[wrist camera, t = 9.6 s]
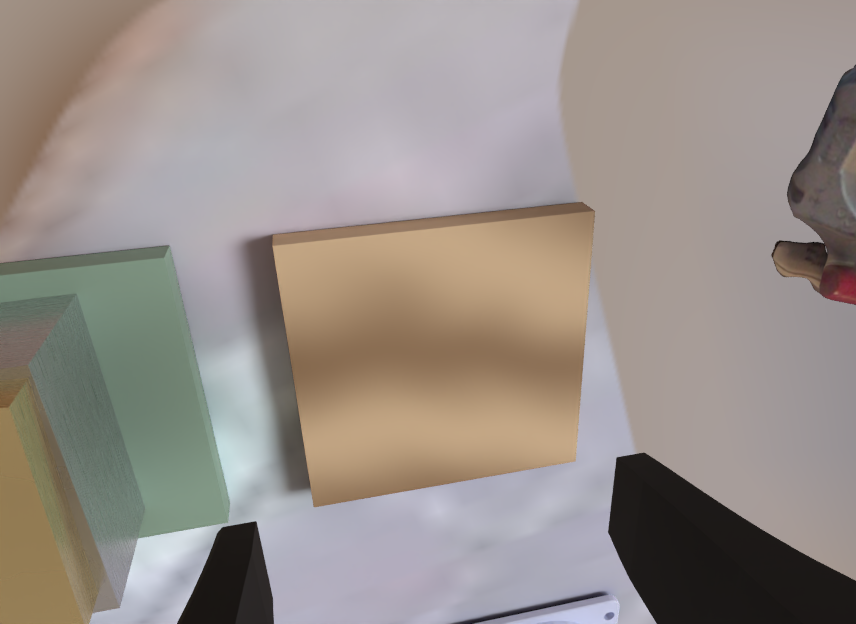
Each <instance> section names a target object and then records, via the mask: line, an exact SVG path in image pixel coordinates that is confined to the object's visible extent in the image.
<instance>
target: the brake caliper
mask: <svg viewBox="0 0 856 624" xmlns="http://www.w3.org/2000/svg"><path fill="white" fill-rule="evenodd" d="M787 197H788V202H789V205H790V207H791V210H792V212H793V215H794V217H796V218H798V219H800V220H801V221H803V222H804V223H806V224H807V225H808V226H810V227H811V228H812V229H813V230H814V231H816V233H817V234H818V235H819V236H820V237H821V239H822V240H823V242H824V243H820V242H808V243H802V242H792V241H781V240H779V241H777V242H776V244H775V247H774V250H773V252H772V254H771V256H772V258H773V261H774V264H775V266H776V270H777V271H778V272H779V273H780V274H781V275H782V276H783V277H802V278H807V279H808V280H809V281H810V282H811V284H812V286H813V288H814V290H816V291H817V292H819V293H820V294H821V295H822V296H823V297H825V298H827V299H830V300H834V301H839V302H844V303H849V304H854V305H856V65H855V66H854V68H853V69H850V70H848V71H847V72H845V73H844V75H843V76H842V78H841V79H840V81H839V83H838V85H837V88H836V90H835V92H834V95H833V97H832V99H831V101H830V103H829V106H828V108H827V110H826V112H825V115H824V118H823V120H822V122H821V124H820V126H819V128H818V130H817V132H816V134H815V137H814V140H813V143H812V146H811V149H810V151H809V152H808V154H807V155H806V157H805V158H804V159H803V160H802V161H801V162H800V164H799V165H798V167H797V168H796V170H795V171H794V172H793V174H792V177H791V180H790V183H789V186H788V191H787ZM825 246H826V248H827V252H826V249H825Z"/></svg>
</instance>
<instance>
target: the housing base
mask: <svg viewBox="0 0 856 624" xmlns="http://www.w3.org/2000/svg"><path fill="white" fill-rule="evenodd" d="M23 378H28V379H29V382H30V385H31V388H32V391H33V394H34V397H35V400H36V403H37V406H38V410H39V413H40V416H41V419H42V422H43V425H44V428H45V431H46V434H47V437H48V440H49V444H50V447H51V450H52V453H53V456H54V459H55V462H56V465H57V468H58V471H59V474H60V478H61V481H62V484H63V487H64V490H65V493H66V496H67V499H68V502H69V505H70V508H71V512H72V515H73V518H74V521H75V524H76V527H77V530H78V533H79V536H80V539H81V542H82V546H83V549H84V552H85V555H86V558H87V561H88V564H89V567H90V570H91V573H92V576H93V580H94V583H95V586H96V589H97V592H98V596H97V599H96V603H95V606H94V609H93V613H95V612H100V611H106V610H111V609H116V608H120V605H121V601H122V597H123V593H124V589H125V586H126V582H127V578H128V574H129V570H130V566H131V562H132V559H133V555H134V551H135V547H136V543H137V539H138V536H139V532H140V528H141V524H142V520H143V516H144V513H145V505H144V502H143V499H142V496H141V493H140V490H139V487H138V483H137V480H136V477H135V474H134V471H133V468H132V465H131V462H130V458H129V455H128V452H127V449H126V446H125V443H124V440H123V437H122V433H121V430H120V427H119V424H118V421H117V418H116V415H115V412H114V408H113V405H112V402H111V399H110V396H109V393H108V390H107V387H106V383H105V380H104V377H103V374H102V371H101V368H100V365H99V361H98V358H97V355H96V352H95V349H94V346H93V343H92V340H91V336H90V333H89V330H88V327H87V324H86V321H85V318H84V315H83V311H82V308H81V305H80V302H79V299H78V296H77V294H68V295H60V296H51V297H43V298H34V299H26V300H17V301H9V302H0V381H3V380H13V379H23Z"/></svg>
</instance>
